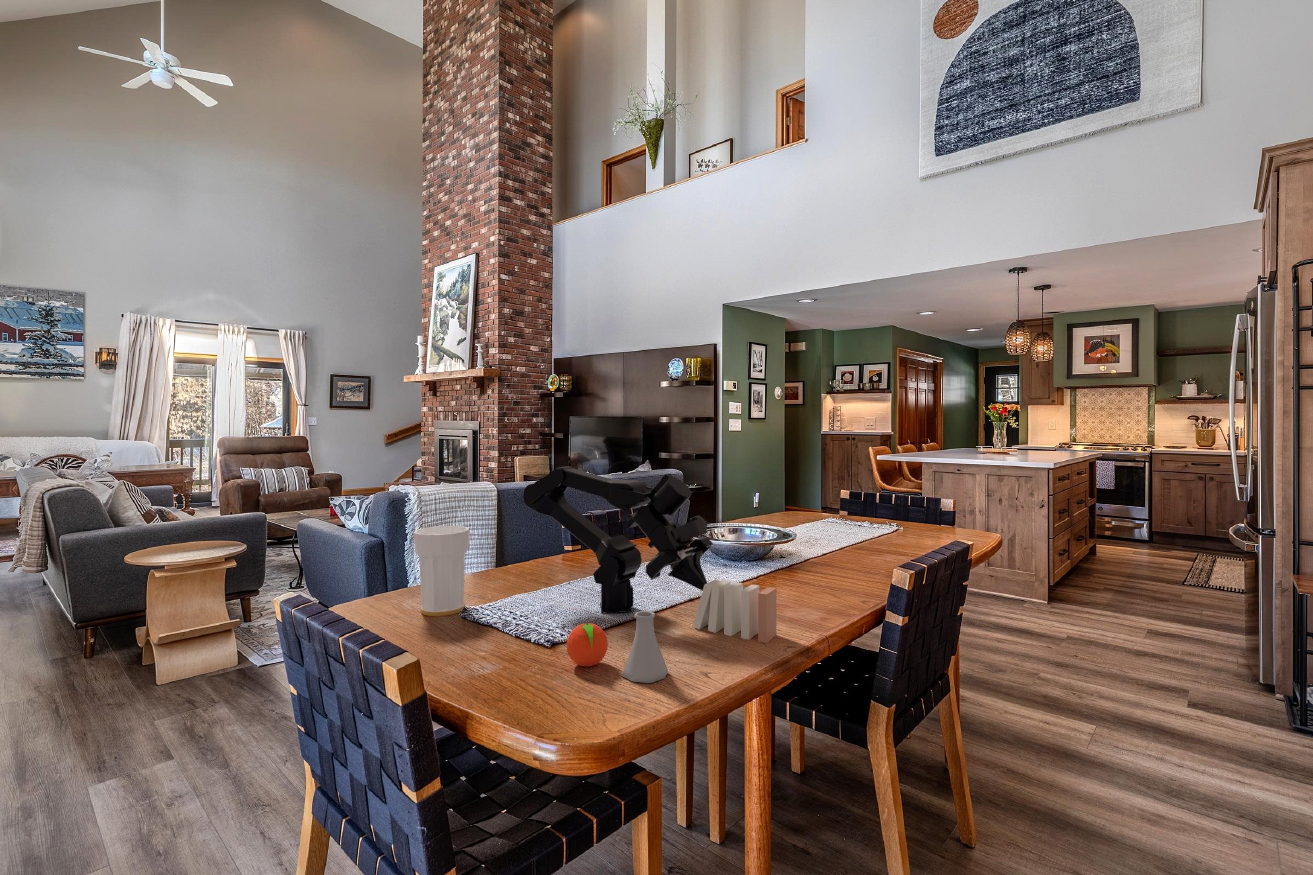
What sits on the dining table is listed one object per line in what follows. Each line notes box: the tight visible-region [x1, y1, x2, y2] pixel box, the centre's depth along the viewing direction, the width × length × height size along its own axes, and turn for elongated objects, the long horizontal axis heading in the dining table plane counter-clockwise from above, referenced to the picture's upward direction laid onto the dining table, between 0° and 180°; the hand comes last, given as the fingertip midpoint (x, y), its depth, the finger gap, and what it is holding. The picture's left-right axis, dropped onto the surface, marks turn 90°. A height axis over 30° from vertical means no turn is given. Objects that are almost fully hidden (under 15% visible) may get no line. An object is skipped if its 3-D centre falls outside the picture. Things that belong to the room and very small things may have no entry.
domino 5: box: [757, 586, 777, 644], centre depth 119 cm, size 2×5×9 cm, turn 148°
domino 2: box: [707, 579, 731, 634], centre depth 125 cm, size 2×5×9 cm, turn 148°
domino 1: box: [692, 578, 721, 631], centre depth 126 cm, size 2×5×9 cm, turn 148°
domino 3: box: [723, 581, 744, 637], centre depth 123 cm, size 2×5×9 cm, turn 148°
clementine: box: [566, 622, 609, 667], centre depth 106 cm, size 8×7×7 cm
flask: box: [621, 610, 669, 684], centre depth 103 cm, size 7×7×10 cm
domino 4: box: [740, 584, 760, 640], centre depth 121 cm, size 2×5×9 cm, turn 148°
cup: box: [413, 525, 470, 617], centre depth 138 cm, size 11×11×17 cm
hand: (706, 589), depth 126 cm, fingers closed
